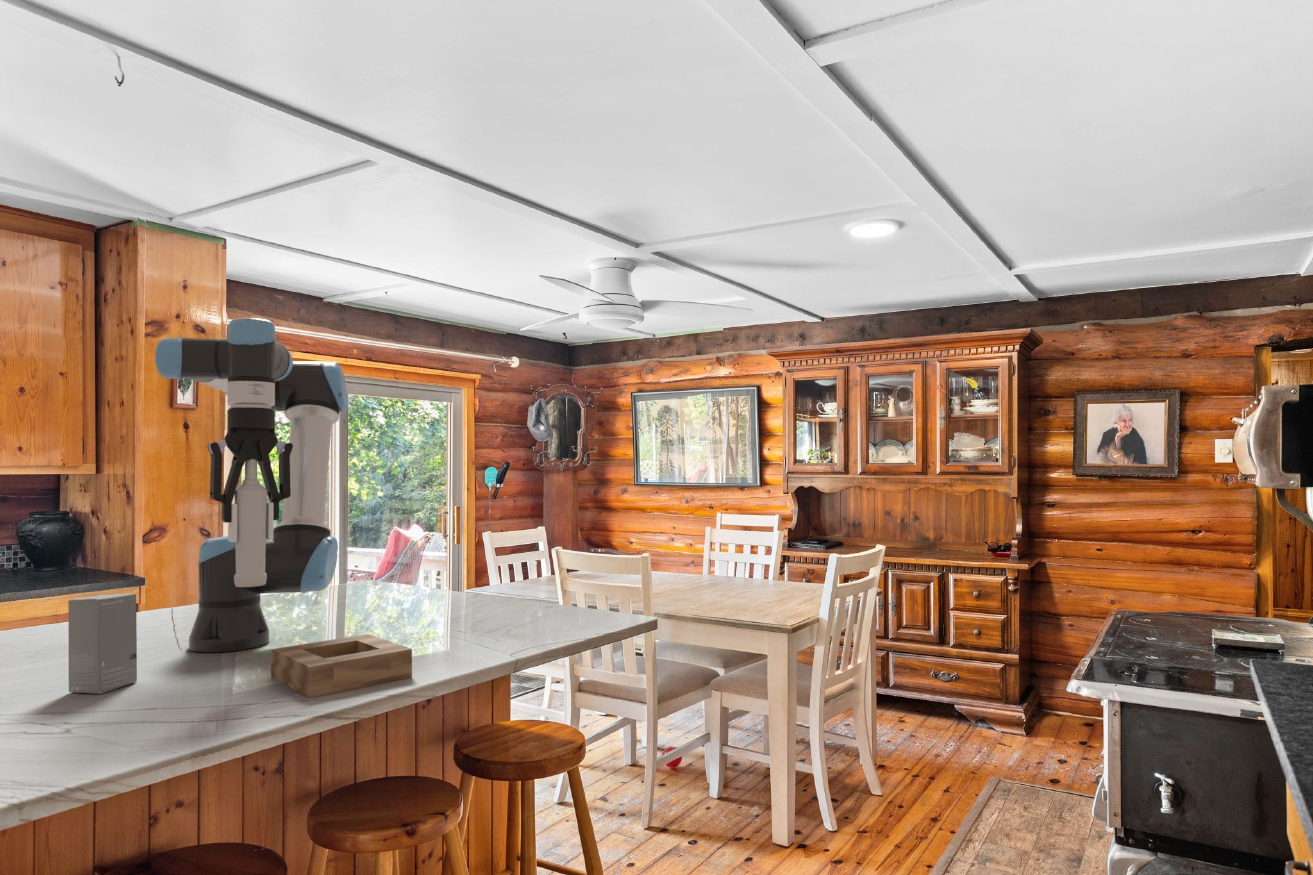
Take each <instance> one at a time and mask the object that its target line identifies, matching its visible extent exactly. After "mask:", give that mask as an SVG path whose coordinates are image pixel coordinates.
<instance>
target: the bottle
mask: <svg viewBox="0 0 1313 875" xmlns="http://www.w3.org/2000/svg"><path fill="white" fill-rule="evenodd" d="M267 502H268V495H267V489H266V487H265V486H263V485H262V484H261V483H260V480H259V479H258V462H257V460H254V459H251V460H245V463H244V478H243V480H242V482H241V484H240V485H239V486H237V487H236V491H235V494H234V504H237V542H235V549H236V574H235V575H234V582H235V586H236V587H255V586H262V585H265V584H266V580H267V574H266V573H265V554H266V516H267Z"/></svg>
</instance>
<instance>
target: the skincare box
mask: <svg viewBox="0 0 1313 875" xmlns="http://www.w3.org/2000/svg"><path fill="white" fill-rule="evenodd" d="M67 604H68V607H67V608H68V693H78V694H79V693H83V694H84V693H85V694H96V695H100V694H104V693H108V692H111V691H113V690H117V689H119V688H123V687H125V686H127V685H131V684H134V683H137V681H138V668H137V667H138V666H137V664H138V662H137V661H138V659H137V658H138V655H137V654H138V653H137V650H138V649H137V648H138V647H137V640H138V639H137V638H138V637H137V632H138V630H137V629H138V628H137V626H138V625H137V593H113V594H112V593H108V594H107V593H106V594H100V595H91V596H85V597H84V596H83V597H77V598H72V599H69V600H68V601H67Z"/></svg>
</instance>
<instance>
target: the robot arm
mask: <svg viewBox="0 0 1313 875" xmlns="http://www.w3.org/2000/svg"><path fill="white" fill-rule="evenodd" d="M154 353H155V354H154V358H155V359H154V360H155V362H154V363H155V366H156V370H157V372H158V374H159V375H160V376H161V377H162V378H164V379H173V380H174V379H175V380H191V381H195V382H198V383H200V384H202V385H204V386H205V385H206V386H208V387H210V388H213V389H215V390H218V391H221V392H223V393H224V394H225V395H226V396H227V397H226V398H227V400H226V402H227V405H229V406H230V408H228V409H227V413H226V414H227V415H226V417H227V419H226V420H227V421H226V422H227V426H226V427H227V428H226V430H227V431H226V434H225V436H224V438H223V439H222V440H219V441H216V442H209V443H208V444H207V445H206V446H207V449H208V452H209V454H210V474H209V476H210V479H209V480H210V481H209V499H211V501H215V502H219V503H220V504H221V521H222V523H225V524H227V527H228V528H227V529H228V530H227V535H225V536H219V537H214V538H208V539H206V540H204V541H203V542H202V543H201V544H200V546H199V555H198V556H199V557H198V561H197V564H198V611H197V614H196V617H195V620H194V623H193V626H192V629H191V631H190V634H189V636H188V637H189V638H188V649H189V651H192V652H198V653H223V652H235V651H242V650H247V649H253V648H257V647H261V646H263V645H266V644H268V643H269V642H270V629H269V626H268V623H267V620H266V618H265V615H264V612H263V609H262V607H261V594H262V595H263V594H285V593H302V594H307V593H309V592H311V593H312V592H320V591H324V590H325V589H327V588H328V587H329V586H330V584H331V582H332V580H333V577H334V574H335V571H336V567H337V562H338V549H339V547H338V546H339V545H338V544H339V543H338V541H337V538H336V537H334V536H332V535H331V533H332V532H331V529H330V528H329V527H328V525H326V523H325V512H326V503H327V502H326V500H327V488H328V486H327V485H328V477H329V476H328V474H329V460H330V451H331V450H330V449H331V448H330V447H331V436H332V434H331V433H332V426H333V425H334V424H336V423H337V422H339V419H340V413H343V412H346V411H347V410H348V406H349V403H348V402H349V399H348V390H347V382H346V378H345V374H344V370H343V367H342V366H341V365H340V364H339V363H337V362H334V361H333V362H332V361H322V360H319V361H294V360H293V356H292V354H291V352H290V350H289V349H288V348H287V347H286V346H285V345H284V344H283V343H281V342H278V341H277V335H276V325H275V323H273V322H272V321H270V320H268V319H263V318H254V317H240V318H239V317H238V318H234V319H231V320H230V321H229V323H228V328H227V336H226V338H197V337H195V338H193V337H180V336H178V337H168V338H167V337H166V338H165V337H164V338H162V339H161V340H159V341H158V343H157V345H156V347H155V352H154ZM276 412H284V417H285V418H286V419H287V420H288V421H289V422H290V423H291V424H290V429H289V430H290V433H289V442H285V441H281V440H279V439H278V437H277V435H276ZM225 447H227V448H228V450H229V451H230V452H231V454H232V455H233V456H232V459H231V466H230V469H229V473H228V475H227V480H226V482H225V486H224V489H223V493H222V486H223V485H222V480H223V453H224V452H225ZM275 447H276V451H277V453H278V487H277V482H276V480H275V475H274V473H273V472H274V471H273V468H272V465H271V464H272V461H271V458H270V456H269V455H270V453H271V452H272V451H273V449H274V448H275ZM251 459H254V460H257V466H258V467H259V469H260V473H261V475H262V480H263V484H264V488H265V489H267V499H268V500H269V501H267V516H266V554H265V573H266V574H267V580H266V584H265V585H262V586H255V587H236V586H235V582H234V575H235V574H236V549H235V542H237V504H235V503H233V500H234V499H235V491H236V489H237V488H238V484H239V481H240V477H241V474H242V470H243V467H244V466H245V460H251ZM281 501H283V504H282V514H281V522H279V523H278V524H277V525H276V526H274V521H279V518H280V503H281Z"/></svg>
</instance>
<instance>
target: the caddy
mask: <svg viewBox="0 0 1313 875" xmlns="http://www.w3.org/2000/svg"><path fill="white" fill-rule="evenodd" d="M412 677H413V648H410V647H409V646H404V645H402V644H399V643H395V642H393V641H389V640H388V639H383V638H381V637H379V636H375V635H372V634H369V633H366V634H365V633H364V634H360V635H353V636H347V637H340V638H335V639H327V640H321V641H315V642H309V643H303V644H297V645H290V646H289V645H288V646H283V647H278V648H271V649H270V678H272V679H273V680H275V681H277V682H279V683H281V684H282V685H284V686H286V687H288V688H289V689H293V690H294V691H296V692H297V693H300V694H301V695H303V696H306V697H307V698H309V699H310V698H315V697H320V696H325V695H329V694H334V693H340V692H344V691H350V690H355V689H360V688H365V687H370V686H375V685H379V684H385V683H389V682H395V681H399V680H406V679H409V678H412Z"/></svg>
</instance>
